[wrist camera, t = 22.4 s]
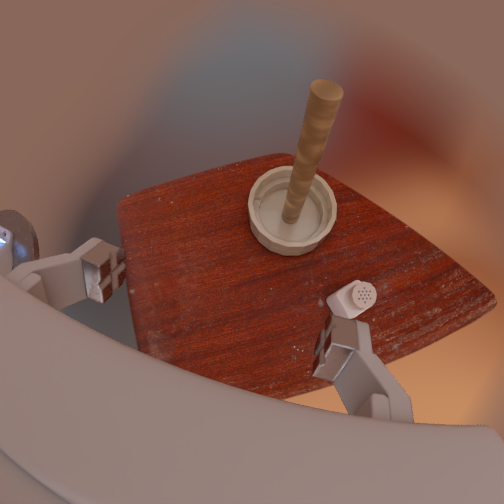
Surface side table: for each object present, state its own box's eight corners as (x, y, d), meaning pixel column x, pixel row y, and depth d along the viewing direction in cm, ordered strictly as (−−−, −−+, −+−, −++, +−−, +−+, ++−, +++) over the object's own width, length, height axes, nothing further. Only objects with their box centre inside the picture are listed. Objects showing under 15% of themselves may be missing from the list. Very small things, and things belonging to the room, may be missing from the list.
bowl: (233, 232, 45) (231, 219, 40) (272, 169, 48) (274, 152, 43) (306, 272, 43) (313, 263, 38) (340, 204, 46) (349, 190, 41)
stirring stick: (278, 219, 45) (305, 91, 20) (286, 205, 45) (318, 74, 20) (293, 227, 44) (337, 105, 19) (301, 213, 45) (347, 87, 20)
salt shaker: (345, 285, 42) (369, 272, 33) (358, 308, 41) (385, 300, 32) (323, 299, 42) (342, 289, 33) (337, 322, 41) (359, 318, 32)
